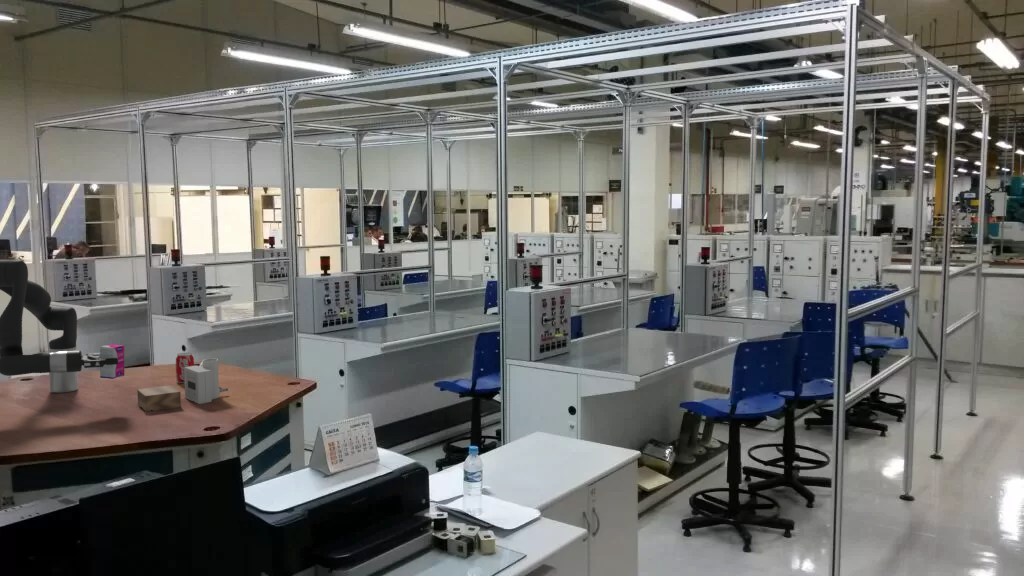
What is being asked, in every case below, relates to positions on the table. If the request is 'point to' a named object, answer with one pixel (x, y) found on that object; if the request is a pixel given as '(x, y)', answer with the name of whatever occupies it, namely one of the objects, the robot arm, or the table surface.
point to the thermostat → (202, 382)
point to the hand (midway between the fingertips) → (118, 358)
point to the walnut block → (159, 398)
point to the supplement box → (115, 369)
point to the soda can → (183, 365)
